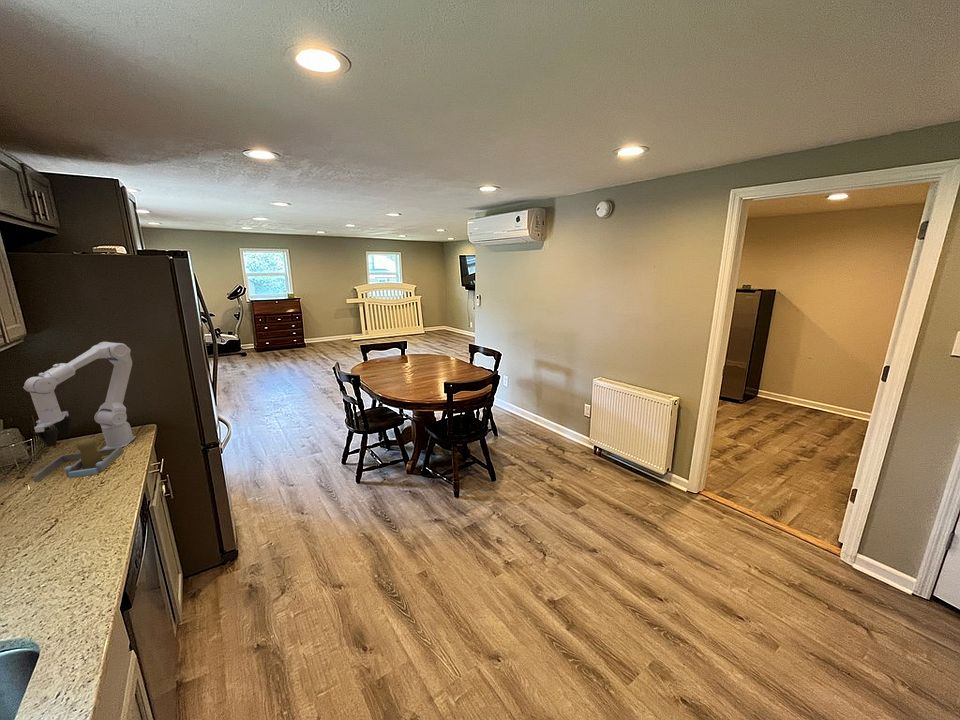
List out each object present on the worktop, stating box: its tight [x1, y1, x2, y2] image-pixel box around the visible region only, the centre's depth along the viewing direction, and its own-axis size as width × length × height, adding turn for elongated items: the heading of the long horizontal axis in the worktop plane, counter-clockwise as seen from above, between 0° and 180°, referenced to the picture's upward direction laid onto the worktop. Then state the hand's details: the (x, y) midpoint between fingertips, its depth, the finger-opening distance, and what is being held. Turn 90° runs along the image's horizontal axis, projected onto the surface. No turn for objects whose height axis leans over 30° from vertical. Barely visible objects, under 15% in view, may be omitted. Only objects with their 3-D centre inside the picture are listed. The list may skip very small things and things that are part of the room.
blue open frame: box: [32, 447, 124, 483], centre depth 145 cm, size 16×19×3 cm
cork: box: [76, 437, 104, 470], centre depth 144 cm, size 6×6×11 cm
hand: (59, 441), depth 143 cm, fingers open, 7 cm apart
